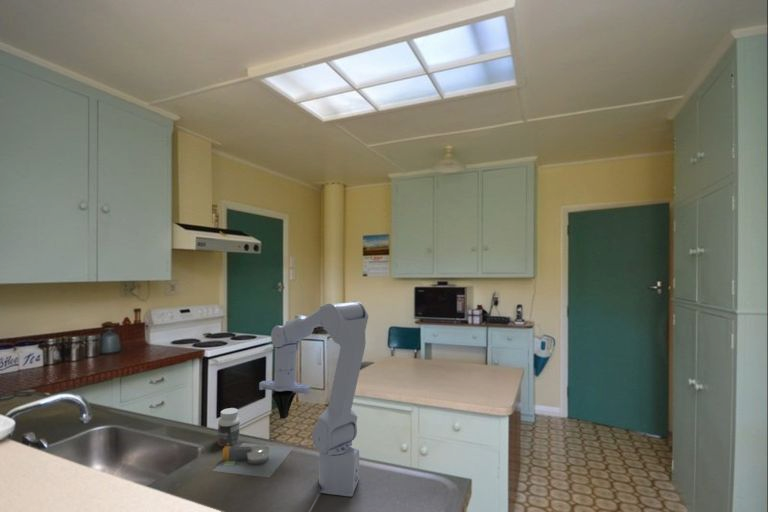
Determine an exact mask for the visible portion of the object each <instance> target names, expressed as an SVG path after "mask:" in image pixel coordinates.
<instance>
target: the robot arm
mask: <svg viewBox="0 0 768 512" xmlns="http://www.w3.org/2000/svg"><path fill="white" fill-rule="evenodd" d="M368 320H369V314H368V312H367V310H366V307H365V306H364V304H363V303H362V302H360V301H358V300H355V301H350V302H348V301H347V302H340V303H339V302H338V303H337V302H336V303H332V302H331V303H329V302H328V303H326V304H324V305H320V306H319V308H318V309H317V310H316V311H314V312H313V313H310V314H309V315H308V316H307V315H302V314H297V315H295V316H294V319H292V320H288V321H286V322H285V324H284V325H275V326H274V327H272V329H271V332H270V338H271V343H272V345H273V346H274V347H275V348H274V380H262V381H260V382H259V385H258V386H259V387H258V388H259V389H258V390H260V391H264V390H268V391H274V392H272V394H271V396H272V399H273V400H274V402H275V404H276V406H277V409H278V414H279V418H280V419H283V420H285V419H286V418H288V416H289V412H290V408H291V406H292V403H293V401H294V398H295V396H296V395H297V394H303V395H307V396H308V395H310V393H311V387H312V386H311V385H308V384H303V383H300V382H297V380H296V379H297V378H296V375H297V374H296V372H297V371H296V370H297V369H296V368H297V351H298V350H299V344H300V342H301V340H304V339H306V338H308V337H309V336H311V335H312V334H313V332H314V329H315V328H316V329H317V328H318V327H320V326H322V327H323V328H324V329H325V331H326V333H328V335H329V336H330V338H331V339H332V341H333V342H334V343H335V344H337V345H339V353H338V357H337V358H338V359H337V363H336V368H335V371H334V376H333V377H334V378H333V382H332V385H331V386H332V387H331V392H330V396H329V401H328V405H327V408H326V409H325V410H324V411H323V412H322V413H321V414H320V415H319V417H317V418H318V419H317V422H316V425H315V426H314V427H313V429H312V432H311V438H312V439H311V440H312V444H313V446H314V448H315V449H316V450H317V451H318V453H319V455H318V456H319V457H318V484H319V485H320V486H321V487H320V490H319V491H318V494H319V493H320V494H326V495H332V496H333V495H335V496H336V495H337V496H343V497H350V498H351V497H353V496H354V493H355V491H356V487H357V485H358V483H359V481H360V476H359V475H360V450H359V449H358V448H354V447H352V446H353V441H354V440H355V439H356V437H357V434H358V426H357V422H358V415H356V413H355V412H354V410H352V407H353V402H354V398H355V394H356V389H357V384H358V382H359V381H358V380H359V376H360V370H361V366H362V361H363V357H364V354H365V349H366V329H367V325H368Z"/></svg>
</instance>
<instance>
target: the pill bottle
mask: <svg viewBox="0 0 768 512" xmlns="http://www.w3.org/2000/svg"><path fill="white" fill-rule="evenodd" d="M238 415H239V410H238V409H237V408H235V407H230V408H224V409H222V410H221V411H220V419H219V420H218V426H217V427H218V428H217V445H218V446H219V447H220V446H221V447H225V446H234V445H236V444H238V443H239V441H240V422H241V421H240V418H239V416H238Z"/></svg>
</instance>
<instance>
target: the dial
mask: <svg viewBox="0 0 768 512" xmlns="http://www.w3.org/2000/svg"><path fill="white" fill-rule="evenodd" d="M265 445H266V444H260V445H256V446H252V447H239V446H240V445H239V446H236V445H235V446H234V445H231V446H223V448H222V461H229V460H247V463H248V464H249V465H261V464H264V463H266V462H267V461H268V460H269V447H268V446H265Z"/></svg>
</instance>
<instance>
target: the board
mask: <svg viewBox="0 0 768 512" xmlns="http://www.w3.org/2000/svg"><path fill="white" fill-rule="evenodd" d="M256 445H261V444H259V443H248V442H242V443H241V444H239V447H252V446H256ZM264 445H265V446H268V447H269V460H268V461H267V462H266V463H264V464H261V465H249V464H248V463H247V460H229V461H224V460H222V462H220V463H219V464H218V465H217V466H216V467H215V468H214V469H212V472H218V473H225V474H226V473H227V474H233V475H234V474H235V475H244V476H252V477H253V476H254V477H260V478H261V477H262V478H268V479H269V478H271V476H272V475H273V474H274V473H275V471H277V469H278V467H279V466H280V465H281V464H282V462H284V460H285V459H286V458H287V457H288V456H289V454H290V453H291V452H292V450H294V447H287V446H279V445H270V444H264Z"/></svg>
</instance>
